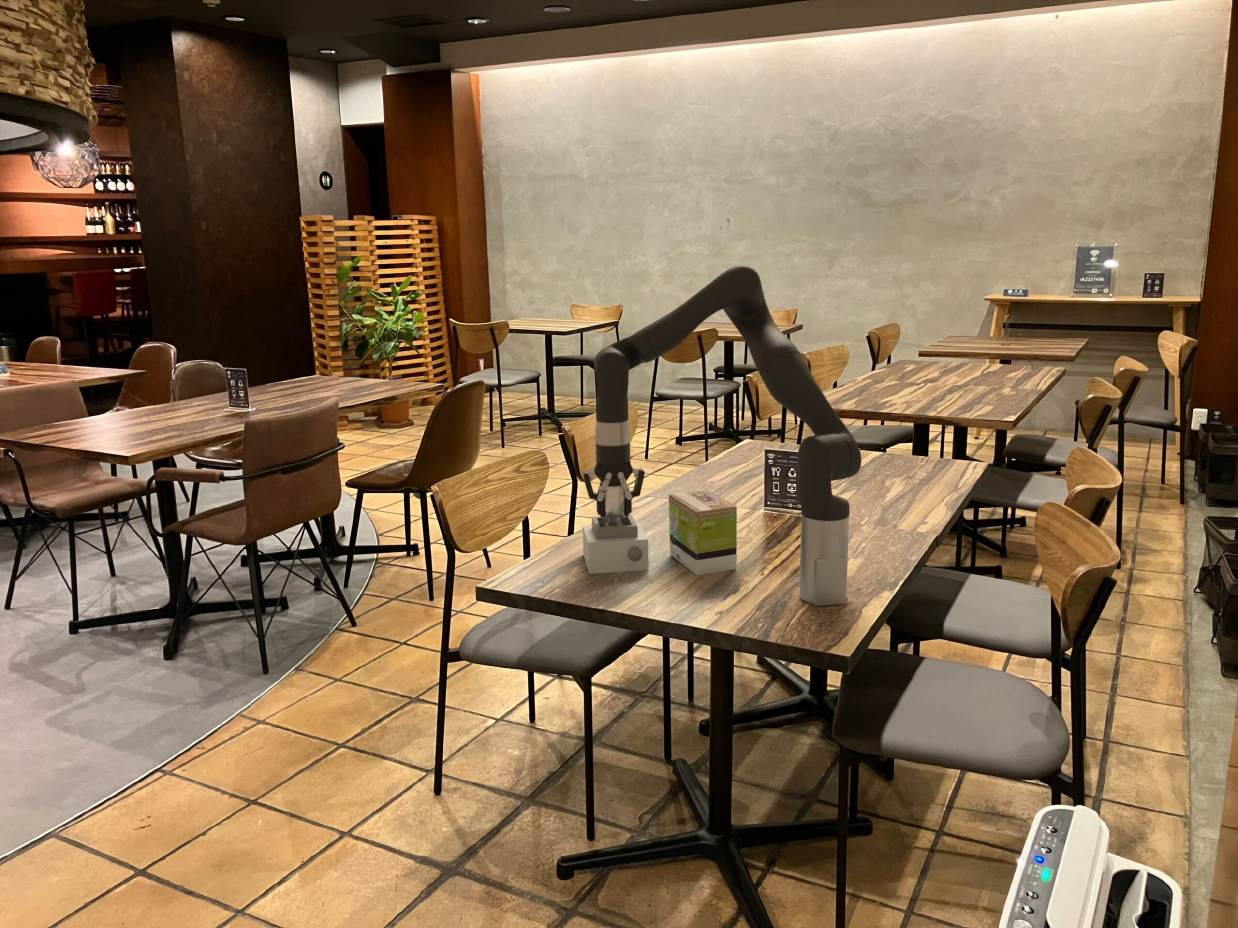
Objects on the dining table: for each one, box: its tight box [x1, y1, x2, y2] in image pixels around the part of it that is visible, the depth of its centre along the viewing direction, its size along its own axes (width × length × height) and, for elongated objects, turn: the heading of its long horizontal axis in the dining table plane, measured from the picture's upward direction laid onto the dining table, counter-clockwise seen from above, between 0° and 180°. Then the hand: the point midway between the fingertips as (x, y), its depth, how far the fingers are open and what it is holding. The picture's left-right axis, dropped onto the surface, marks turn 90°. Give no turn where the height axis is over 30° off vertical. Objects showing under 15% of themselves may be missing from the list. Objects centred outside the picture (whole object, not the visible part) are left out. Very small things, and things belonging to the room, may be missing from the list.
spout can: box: [603, 485, 626, 526], centre depth 214 cm, size 5×5×10 cm
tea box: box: [668, 489, 738, 576], centre depth 214 cm, size 15×10×15 cm, turn 21°
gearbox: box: [582, 514, 650, 575], centre depth 216 cm, size 14×13×10 cm
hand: (614, 515), depth 215 cm, fingers closed on spout can, 5 cm apart
